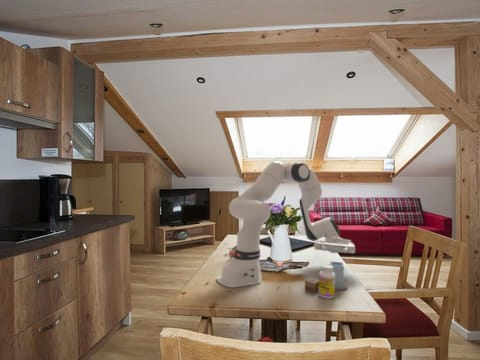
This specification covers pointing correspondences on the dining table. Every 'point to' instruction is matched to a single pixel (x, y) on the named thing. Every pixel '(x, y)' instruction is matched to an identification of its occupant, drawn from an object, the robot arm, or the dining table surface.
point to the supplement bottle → (327, 282)
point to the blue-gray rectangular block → (338, 273)
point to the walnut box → (312, 285)
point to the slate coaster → (341, 288)
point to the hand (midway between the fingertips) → (334, 250)
